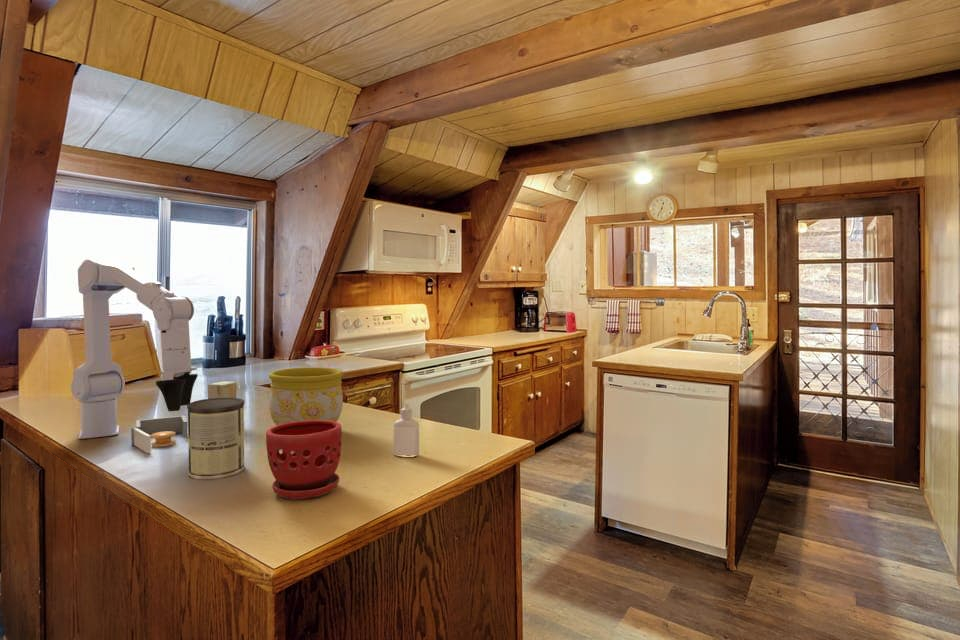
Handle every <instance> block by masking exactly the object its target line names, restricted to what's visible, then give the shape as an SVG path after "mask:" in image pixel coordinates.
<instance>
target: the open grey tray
mask: <svg viewBox="0 0 960 640" xmlns="http://www.w3.org/2000/svg"><path fill="white" fill-rule="evenodd" d="M135 427H137V428H138V429H139V430H141V431H143V432H145V433H147V434H149V435H150V436H151V435H152V434H154V433H158V432H164V431H173V432H175V433H181V435H182V437H183V439H185V438H188V419H187V418H186V416H185V415H176V416H175V415H174V416H166V417H158V418H157V417H156V418H145V419H137V420H135Z"/></svg>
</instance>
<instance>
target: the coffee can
mask: <svg viewBox="0 0 960 640" xmlns="http://www.w3.org/2000/svg"><path fill="white" fill-rule="evenodd" d="M244 405H245V400H244V399H243V398H239V397H236V398H211V399H208V398H203V399H198V400H194V401H192V402H191V401H190V403H189V404H188V405H186V409H187V432H188V437H187V439H188V440H187V441H188V443H187V444H188V476H189V478H192V479H194V480H195V479H196V480H216V479H222V478H223V479H224V478H228V477H231V476H234V475H236V474H239V473H241V472H243V471H244V470H245V466H246V465H245V424H244V423H245V422H244V420H245V419H244V417H245V413H244V411H245V409H244V408H245V407H244Z"/></svg>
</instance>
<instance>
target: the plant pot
mask: <svg viewBox="0 0 960 640" xmlns="http://www.w3.org/2000/svg"><path fill="white" fill-rule="evenodd" d="M342 437H343V435H342V424H341V423H339V422H338V421H337V422H334V421H327V420H307V421H297V422H290V423H285V424H281V425H277V426H276V425H274V426H272V427H271V428H268V429H267V431H266V432H265V443H266V452H267V461H268V465H269V469H270V471H271V473H272V476H273V477H274V479H275V480H274V482H273V483H272V490H273V492H274V493H275V494H277V496H280V497H282V498H284V499H291V500H305V499H313V498H316V497H317V498H318V497H321V496H323V495H324V496H325V495H326V494H330V492H331V491H333V490H334V489H335V488H336V487H337V485H338V484H339V482H340V476H339V474H337V473H336V472H337V469H338V466H339V463H340V459H341V455H342V442H343V441H342ZM280 450H282V452H281V453H280ZM292 452H293V453H292Z"/></svg>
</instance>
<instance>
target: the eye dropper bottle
mask: <svg viewBox="0 0 960 640" xmlns="http://www.w3.org/2000/svg"><path fill="white" fill-rule="evenodd" d="M394 454H396V455H406V456H411V455H417V454H420V423H419V422H418V420H416V419H414V418H413V409H412V408H411V407H410V406H409V402H404V406H403V408H401V409H400V418H399V419H397V420H396V421H394V424H393V455H394Z"/></svg>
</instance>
